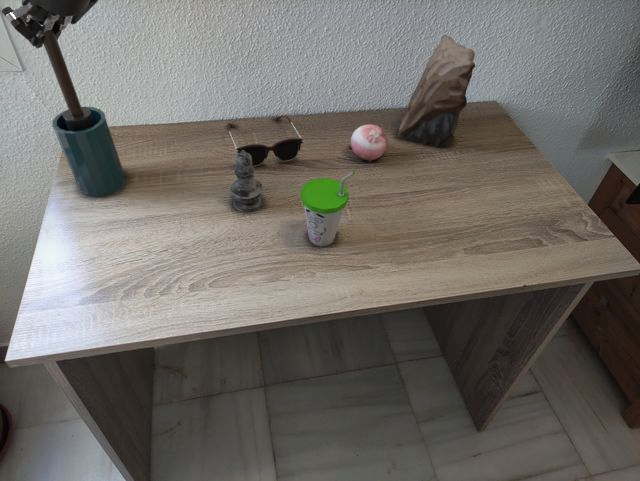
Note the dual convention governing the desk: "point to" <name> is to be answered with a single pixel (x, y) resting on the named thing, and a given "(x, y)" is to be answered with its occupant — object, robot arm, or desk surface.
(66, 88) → the brush
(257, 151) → the sunglasses
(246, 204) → the chess piece
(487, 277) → the desk surface
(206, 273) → the desk surface
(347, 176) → the cup
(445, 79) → the brown rock
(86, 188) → the pencil holder
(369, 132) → the pink round piece
